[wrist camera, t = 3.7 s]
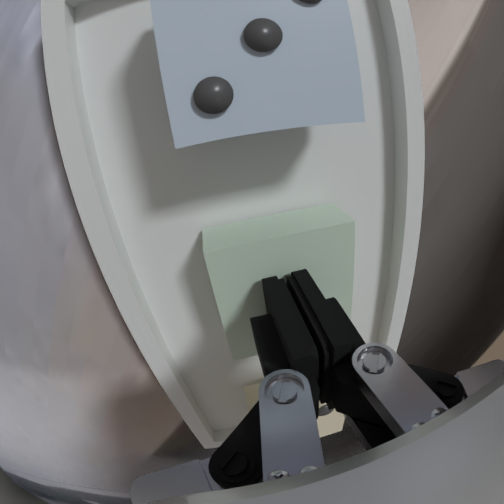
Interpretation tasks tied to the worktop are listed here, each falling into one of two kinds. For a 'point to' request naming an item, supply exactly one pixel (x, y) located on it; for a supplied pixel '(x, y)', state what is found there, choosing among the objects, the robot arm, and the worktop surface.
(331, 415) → the key two dots
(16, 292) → the worktop surface
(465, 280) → the worktop surface
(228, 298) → the key one dot
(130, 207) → the key panel
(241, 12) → the key three dots
